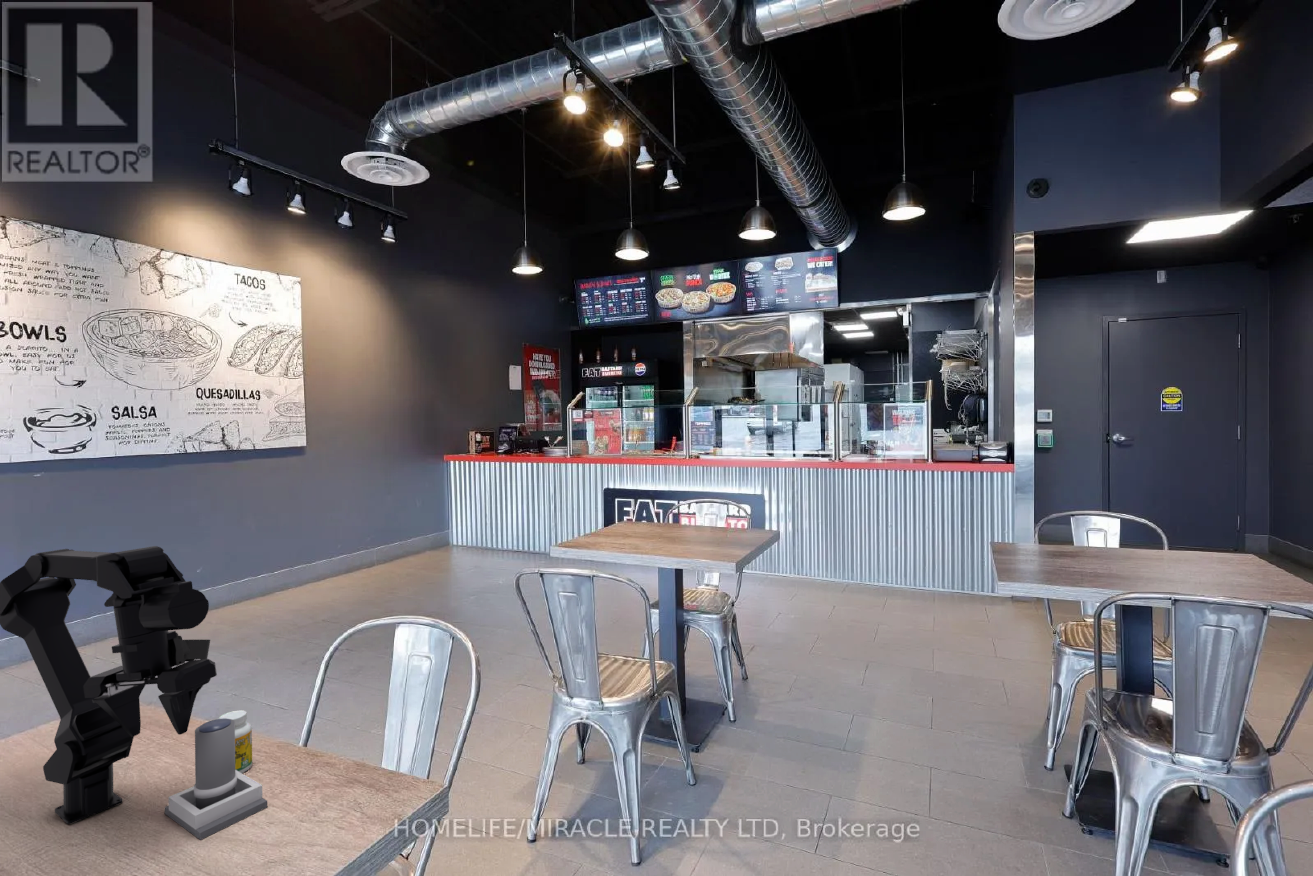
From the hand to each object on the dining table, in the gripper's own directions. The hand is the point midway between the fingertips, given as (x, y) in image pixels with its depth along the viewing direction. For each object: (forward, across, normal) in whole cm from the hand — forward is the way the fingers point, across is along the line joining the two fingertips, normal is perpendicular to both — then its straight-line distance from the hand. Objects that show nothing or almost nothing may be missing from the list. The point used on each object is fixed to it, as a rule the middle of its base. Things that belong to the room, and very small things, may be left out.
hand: (159, 734), depth 92 cm
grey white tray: (+14, -4, -4) cm, 15 cm away
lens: (+13, -4, -4) cm, 14 cm away
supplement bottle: (+13, +4, -14) cm, 19 cm away
